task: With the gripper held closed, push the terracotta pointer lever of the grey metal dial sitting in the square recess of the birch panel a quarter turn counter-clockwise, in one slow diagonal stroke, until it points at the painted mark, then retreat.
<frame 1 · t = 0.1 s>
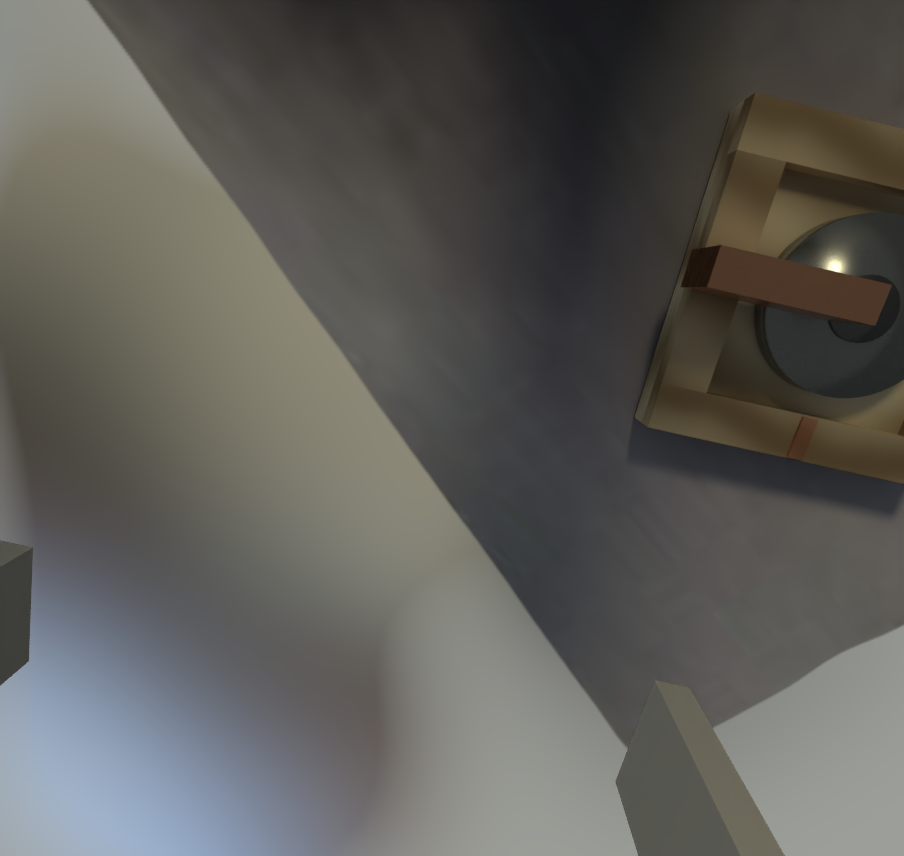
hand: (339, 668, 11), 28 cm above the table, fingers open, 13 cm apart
panel: (823, 307, 36), on the table
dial: (829, 299, 32), point 5 cm above the table, hinge at 0.0°
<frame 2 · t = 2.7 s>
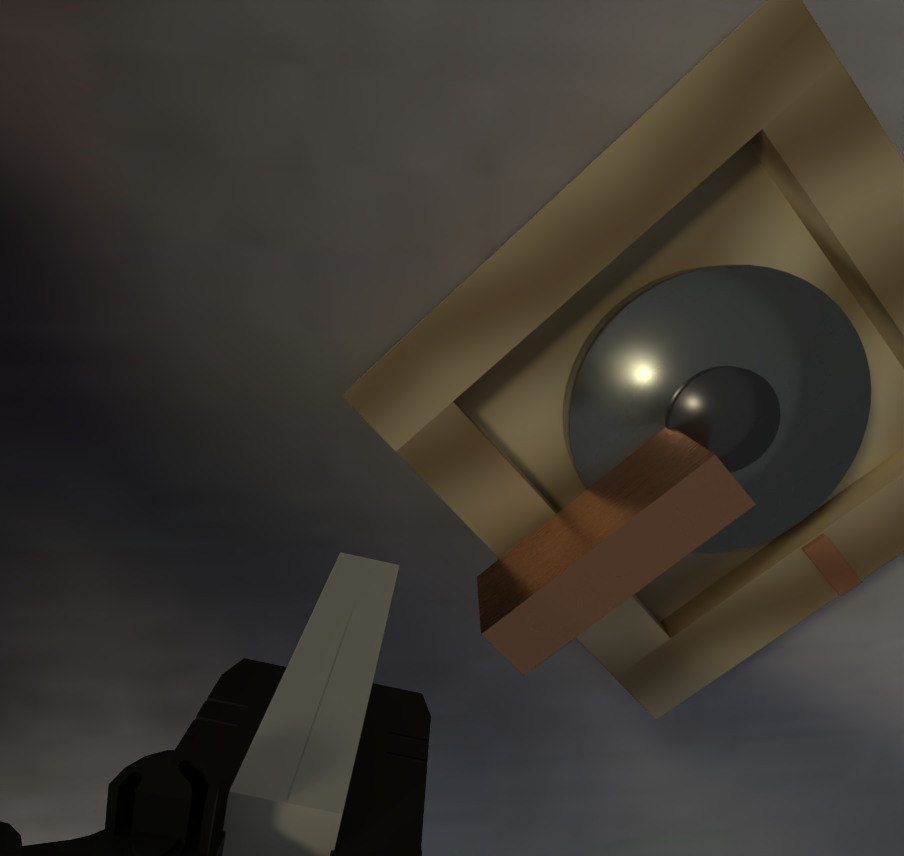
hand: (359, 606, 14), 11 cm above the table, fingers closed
panel: (681, 399, 23), on the table
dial: (669, 475, 19), point 5 cm above the table, hinge at 0.0°
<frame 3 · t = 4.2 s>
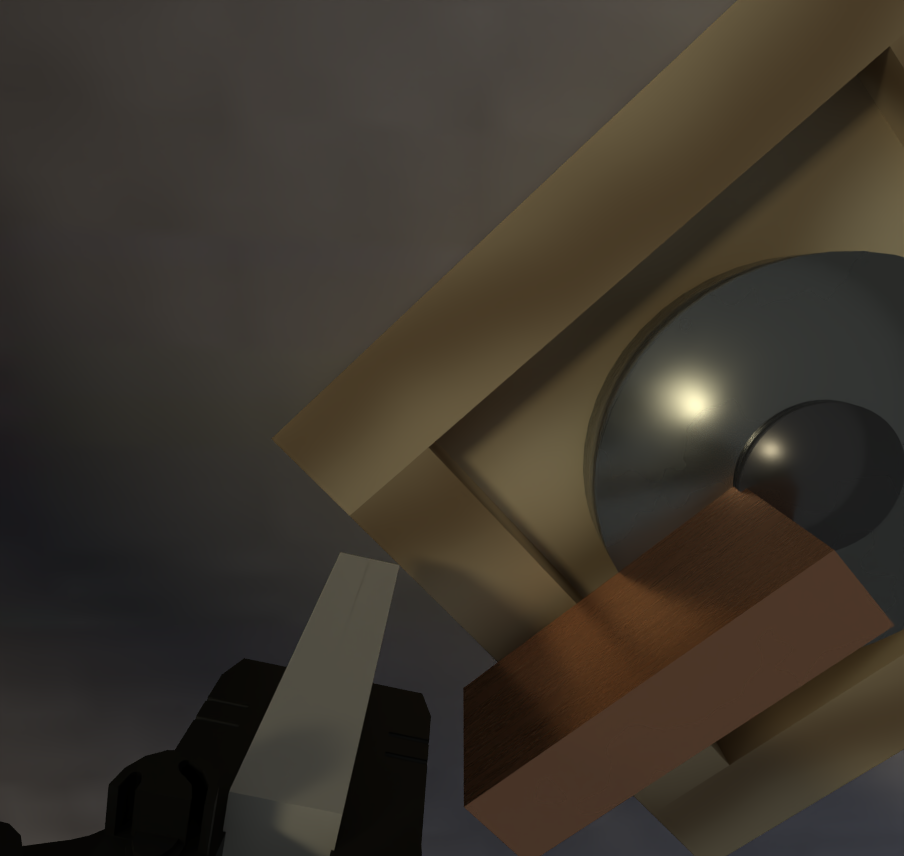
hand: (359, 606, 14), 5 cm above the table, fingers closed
panel: (743, 439, 17), on the table
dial: (742, 560, 13), point 5 cm above the table, hinge at 0.0°
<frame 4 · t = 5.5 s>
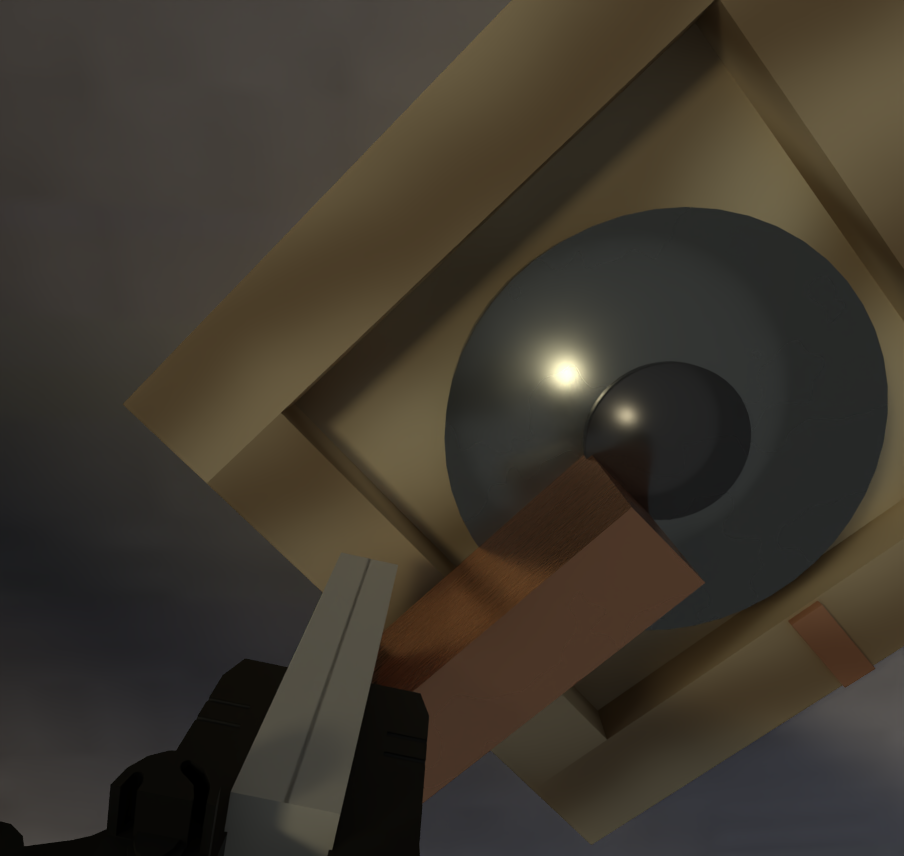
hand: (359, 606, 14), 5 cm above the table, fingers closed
panel: (622, 409, 17), on the table
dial: (588, 528, 13), point 5 cm above the table, hinge at 2.7°, touching gripper
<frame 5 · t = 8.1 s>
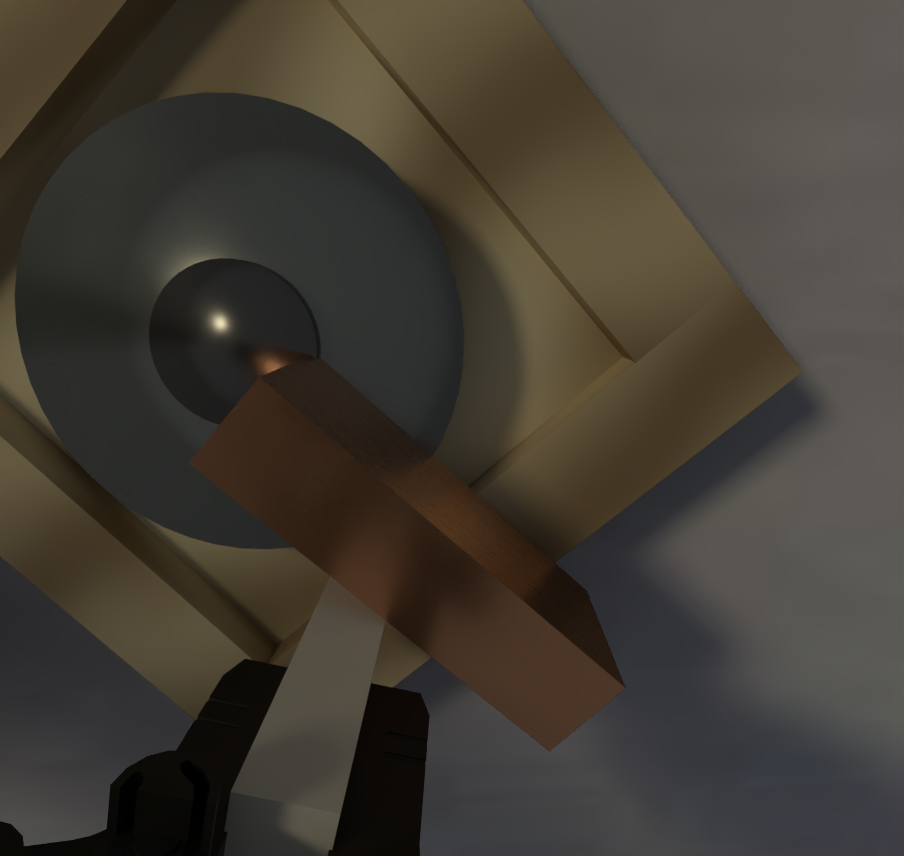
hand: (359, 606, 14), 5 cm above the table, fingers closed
panel: (285, 333, 17), on the table
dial: (315, 429, 13), point 5 cm above the table, hinge at 95.5°, touching gripper
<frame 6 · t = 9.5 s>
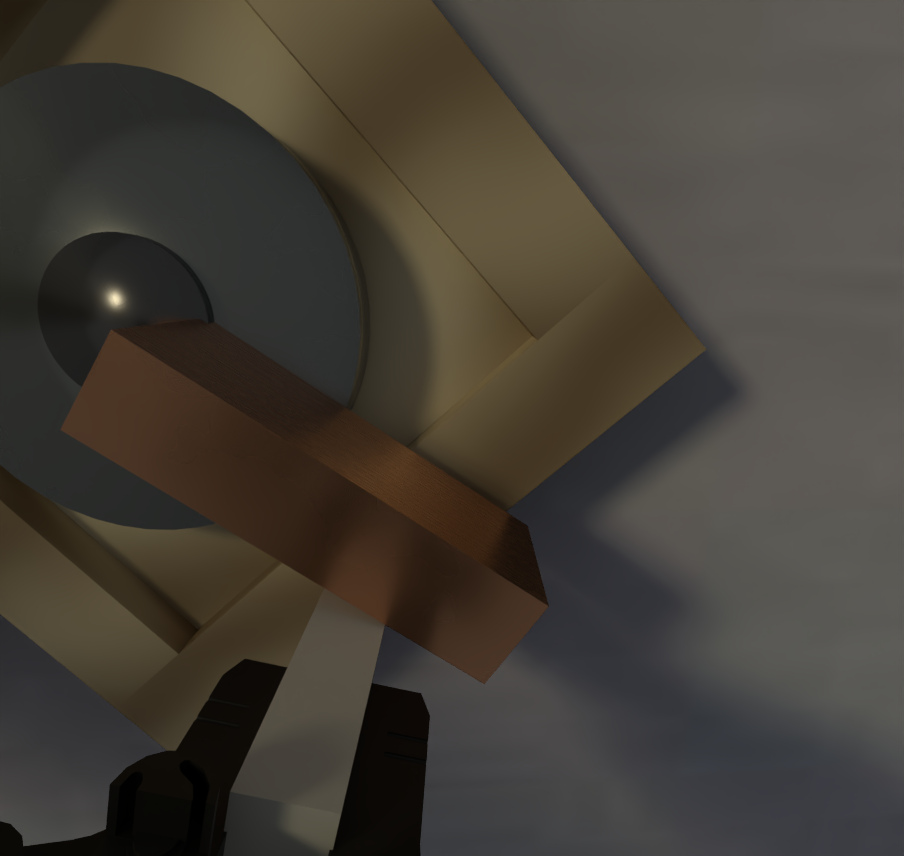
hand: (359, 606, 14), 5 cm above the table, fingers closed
panel: (201, 314, 16), on the table
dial: (213, 392, 12), point 5 cm above the table, hinge at 103.7°, touching gripper
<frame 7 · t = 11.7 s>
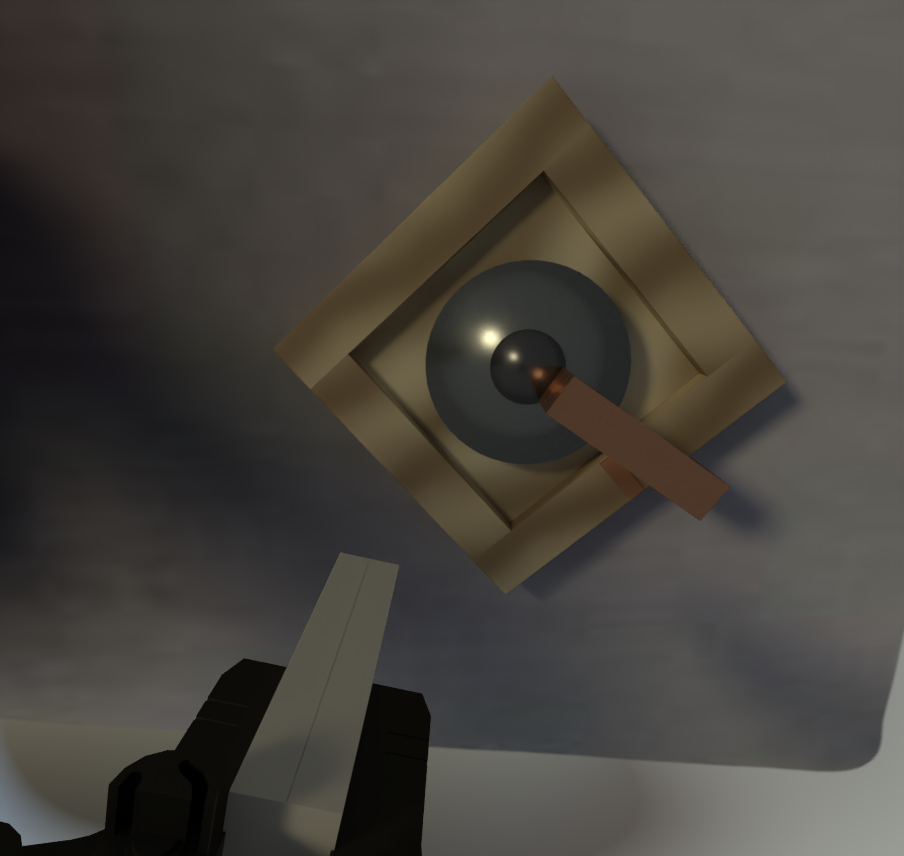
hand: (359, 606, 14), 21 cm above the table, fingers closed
panel: (521, 359, 32), on the table
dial: (571, 399, 28), point 5 cm above the table, hinge at 103.8°
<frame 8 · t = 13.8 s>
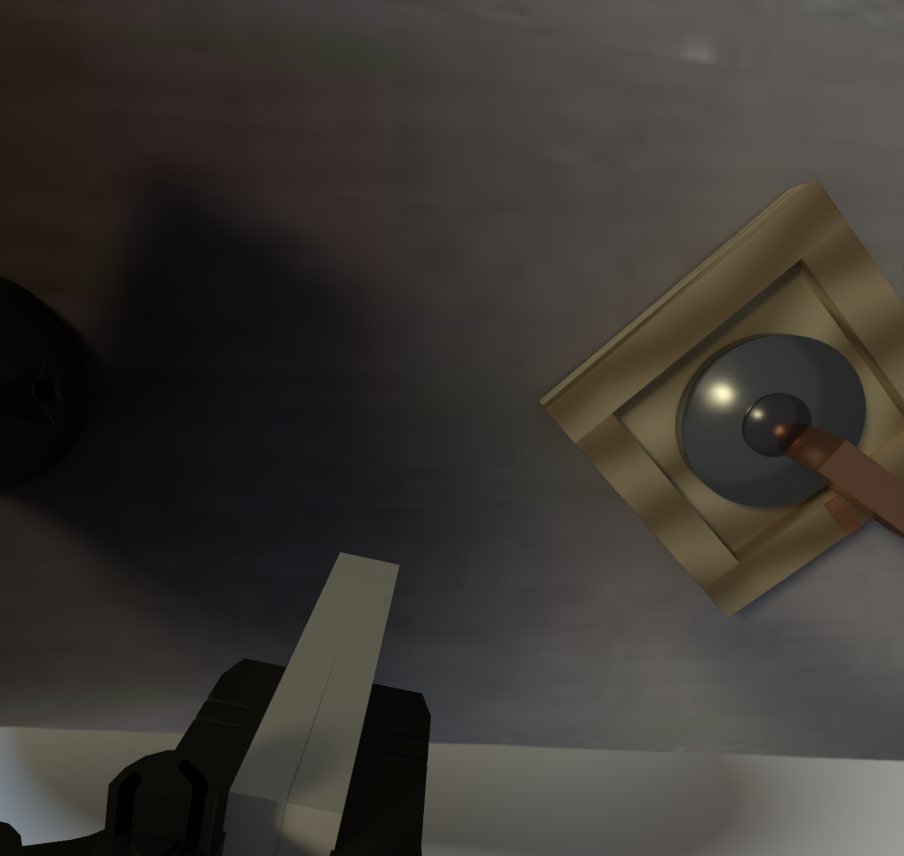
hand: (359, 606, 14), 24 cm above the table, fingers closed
panel: (745, 412, 37), on the table
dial: (818, 453, 33), point 5 cm above the table, hinge at 103.8°
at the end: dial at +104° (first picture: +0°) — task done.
